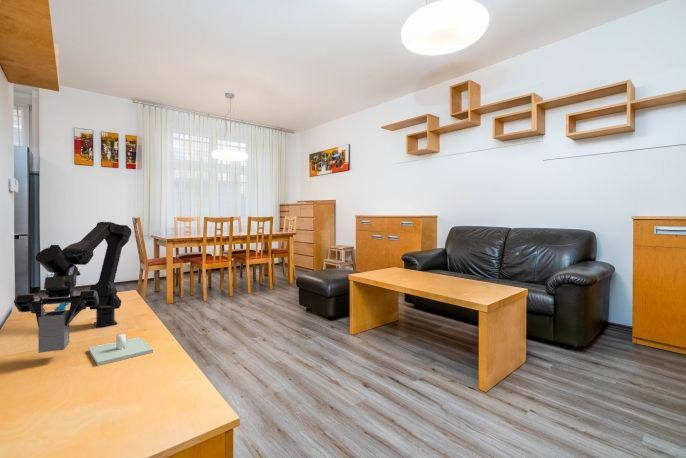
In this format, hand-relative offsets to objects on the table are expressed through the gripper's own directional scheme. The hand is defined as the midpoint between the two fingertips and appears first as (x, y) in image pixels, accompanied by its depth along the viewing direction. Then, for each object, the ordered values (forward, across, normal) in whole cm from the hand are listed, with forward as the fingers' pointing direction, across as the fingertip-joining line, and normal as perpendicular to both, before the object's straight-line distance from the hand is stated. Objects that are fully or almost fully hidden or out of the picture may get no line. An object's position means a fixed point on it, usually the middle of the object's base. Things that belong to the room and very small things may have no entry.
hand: (53, 326), depth 94 cm
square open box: (+4, 0, +6) cm, 7 cm away
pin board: (+7, +16, +7) cm, 19 cm away
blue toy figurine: (-26, -9, +41) cm, 50 cm away
